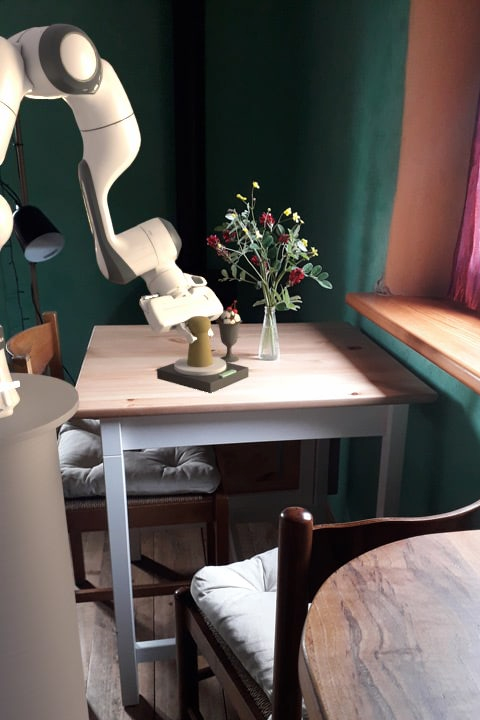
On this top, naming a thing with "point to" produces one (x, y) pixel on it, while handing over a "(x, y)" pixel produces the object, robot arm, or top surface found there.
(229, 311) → the sundae
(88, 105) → the robot arm
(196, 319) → the cork
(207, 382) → the scale
